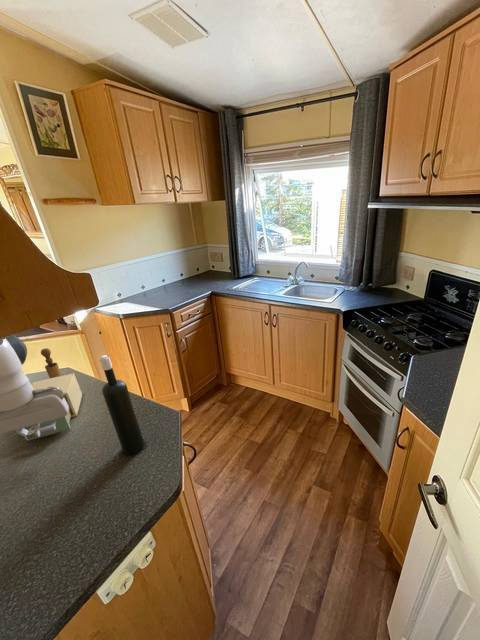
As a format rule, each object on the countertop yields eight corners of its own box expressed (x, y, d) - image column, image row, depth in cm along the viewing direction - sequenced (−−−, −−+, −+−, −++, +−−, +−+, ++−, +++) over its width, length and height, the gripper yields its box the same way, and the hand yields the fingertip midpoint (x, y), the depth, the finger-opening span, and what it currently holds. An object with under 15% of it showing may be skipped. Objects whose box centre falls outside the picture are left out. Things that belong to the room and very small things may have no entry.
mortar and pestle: (47, 392, 114) (29, 352, 107) (62, 384, 120) (46, 344, 112) (60, 395, 112) (42, 353, 105) (74, 386, 118) (58, 346, 110)
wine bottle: (125, 458, 81) (91, 364, 68) (121, 446, 85) (89, 355, 73) (146, 449, 84) (118, 357, 71) (142, 437, 88) (114, 349, 75)
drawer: (67, 437, 89) (58, 417, 85) (22, 450, 84) (11, 429, 81) (76, 406, 103) (68, 387, 100) (38, 415, 99) (29, 397, 96)
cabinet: (76, 416, 100) (67, 392, 96) (33, 427, 95) (20, 403, 91) (82, 394, 112) (73, 373, 108) (43, 404, 107) (33, 382, 103)
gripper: (61, 379, 81) (78, 418, 86) (-33, 400, 73) (-8, 442, 79) (57, 390, 75) (75, 431, 81) (-45, 414, 68) (-17, 458, 74)
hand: (33, 437), depth 80 cm, fingers closed
